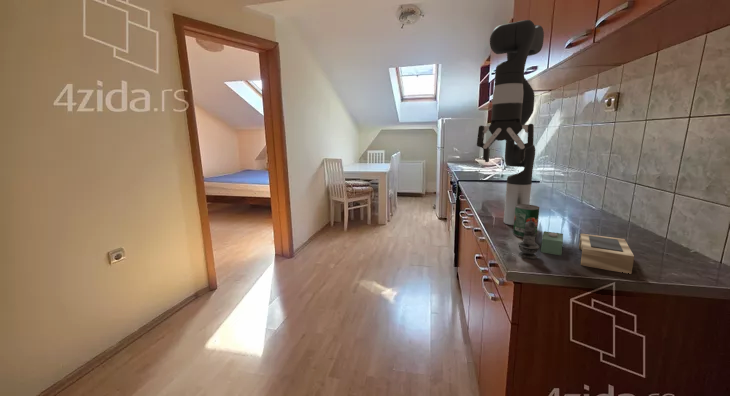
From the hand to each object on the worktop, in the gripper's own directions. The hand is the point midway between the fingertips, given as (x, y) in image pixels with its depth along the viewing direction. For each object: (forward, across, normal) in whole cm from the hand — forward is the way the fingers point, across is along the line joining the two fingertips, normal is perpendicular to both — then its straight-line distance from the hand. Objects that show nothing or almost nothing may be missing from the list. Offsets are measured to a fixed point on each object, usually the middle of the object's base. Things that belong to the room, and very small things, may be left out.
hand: (502, 162), depth 85 cm
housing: (+29, -14, -18) cm, 37 cm away
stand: (+29, -27, -16) cm, 43 cm away
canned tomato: (+30, -5, -30) cm, 42 cm away
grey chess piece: (+30, -8, -8) cm, 32 cm away
